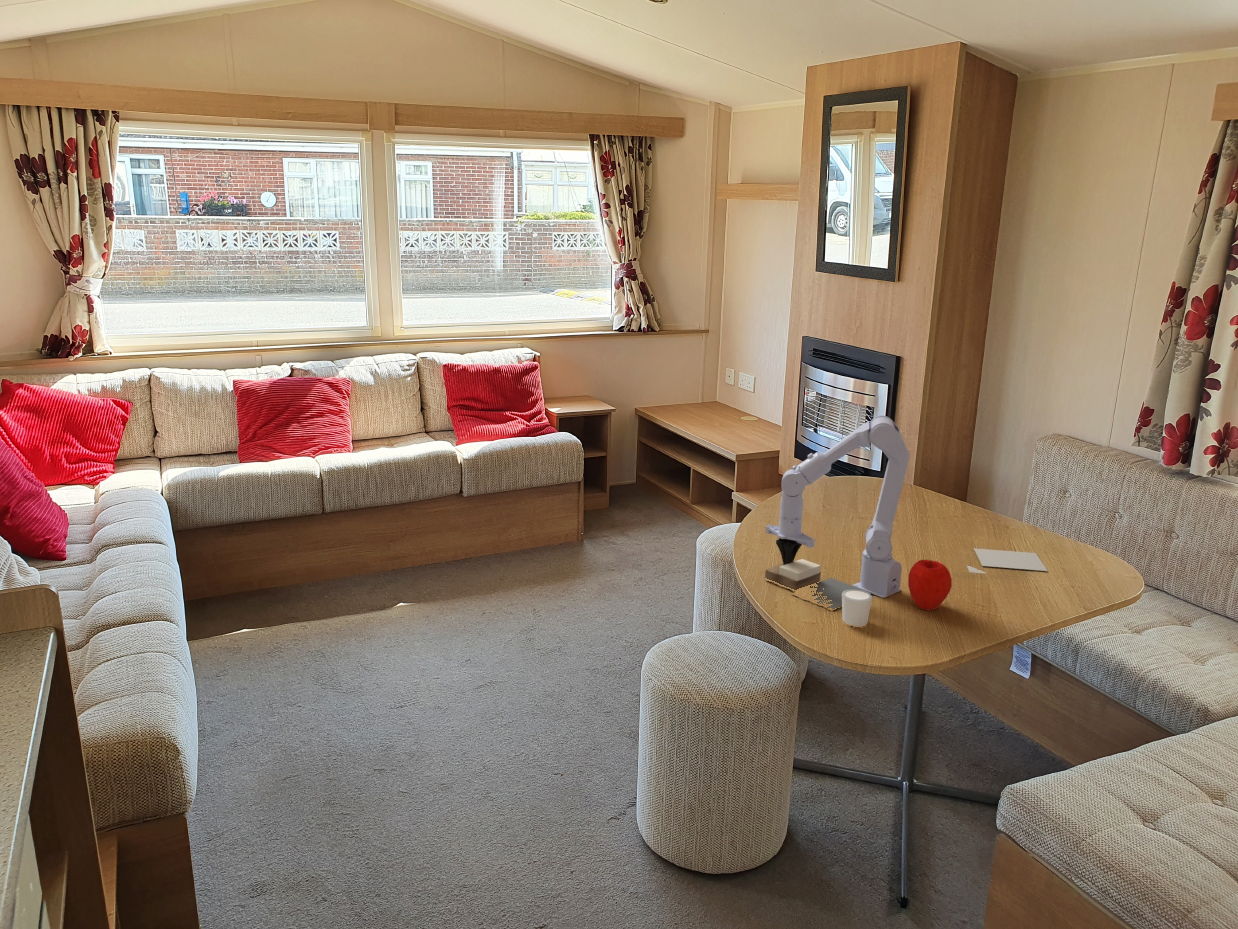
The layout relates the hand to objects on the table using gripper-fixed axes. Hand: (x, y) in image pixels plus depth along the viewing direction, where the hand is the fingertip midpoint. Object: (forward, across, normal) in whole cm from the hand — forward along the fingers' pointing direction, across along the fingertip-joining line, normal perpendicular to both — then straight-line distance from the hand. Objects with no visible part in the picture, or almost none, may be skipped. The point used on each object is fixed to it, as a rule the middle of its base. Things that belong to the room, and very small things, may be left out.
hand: (787, 566), depth 236 cm
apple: (+4, +33, +13) cm, 36 cm away
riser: (+4, +2, 0) cm, 4 cm away
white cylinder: (+4, +27, -8) cm, 28 cm away
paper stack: (+4, +30, +53) cm, 61 cm away
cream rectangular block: (+1, +4, 0) cm, 4 cm away
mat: (+4, +14, +1) cm, 14 cm away
